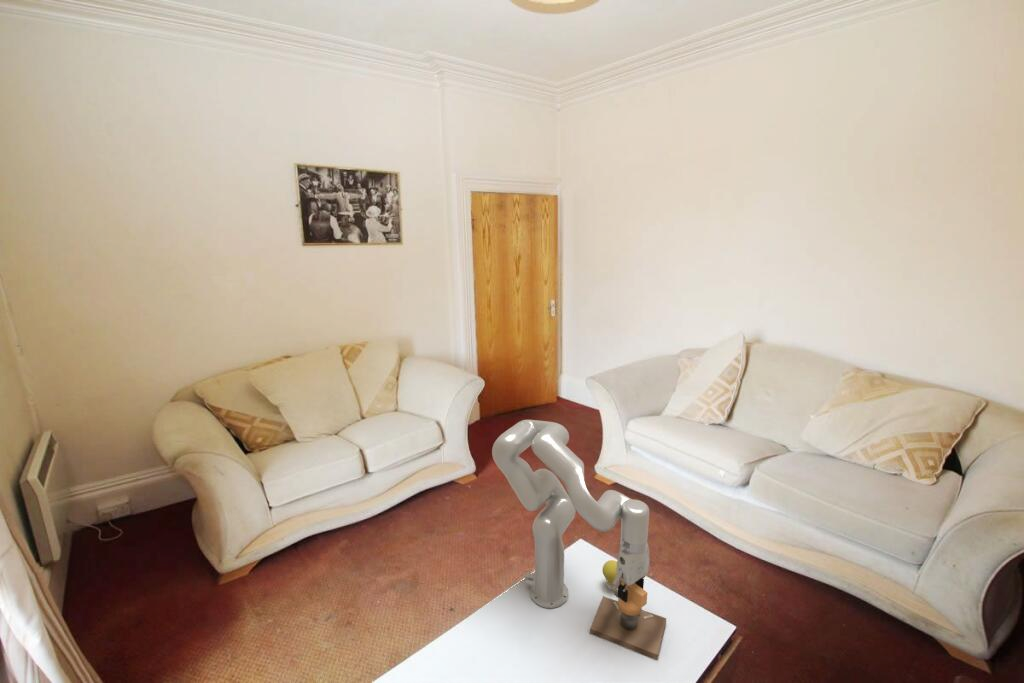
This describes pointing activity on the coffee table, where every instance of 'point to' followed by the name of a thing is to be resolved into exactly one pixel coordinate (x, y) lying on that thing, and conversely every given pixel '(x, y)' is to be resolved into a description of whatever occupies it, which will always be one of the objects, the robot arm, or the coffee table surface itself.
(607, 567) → the light bulb
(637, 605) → the orange bar knob
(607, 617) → the post board
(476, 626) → the coffee table surface
